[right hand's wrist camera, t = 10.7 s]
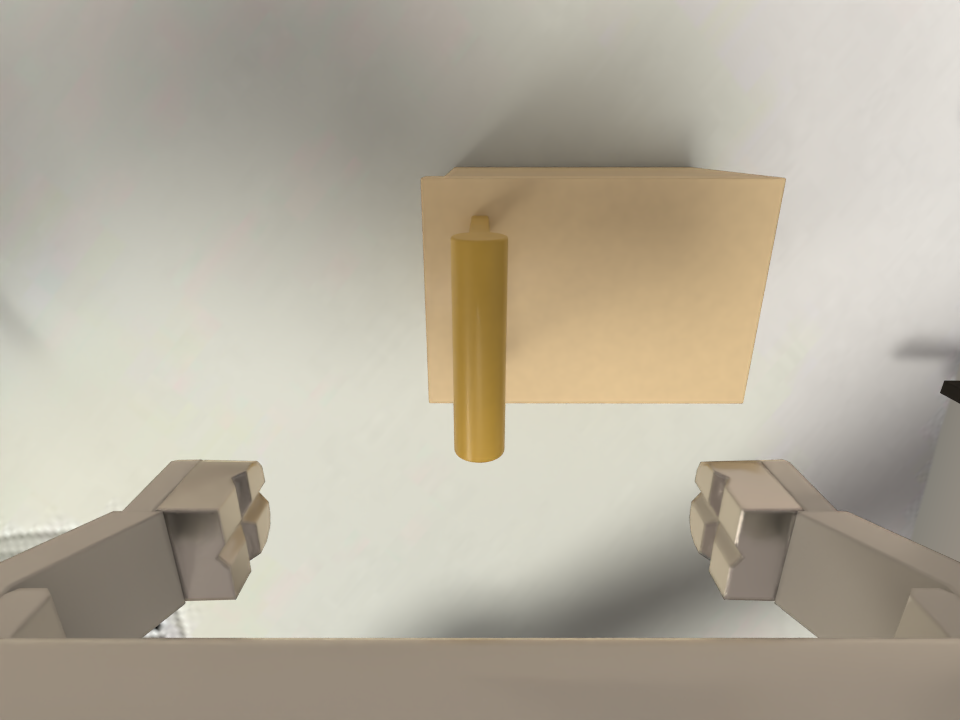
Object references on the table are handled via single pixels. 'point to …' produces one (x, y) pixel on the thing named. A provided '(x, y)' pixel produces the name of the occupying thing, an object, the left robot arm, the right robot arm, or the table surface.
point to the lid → (590, 291)
